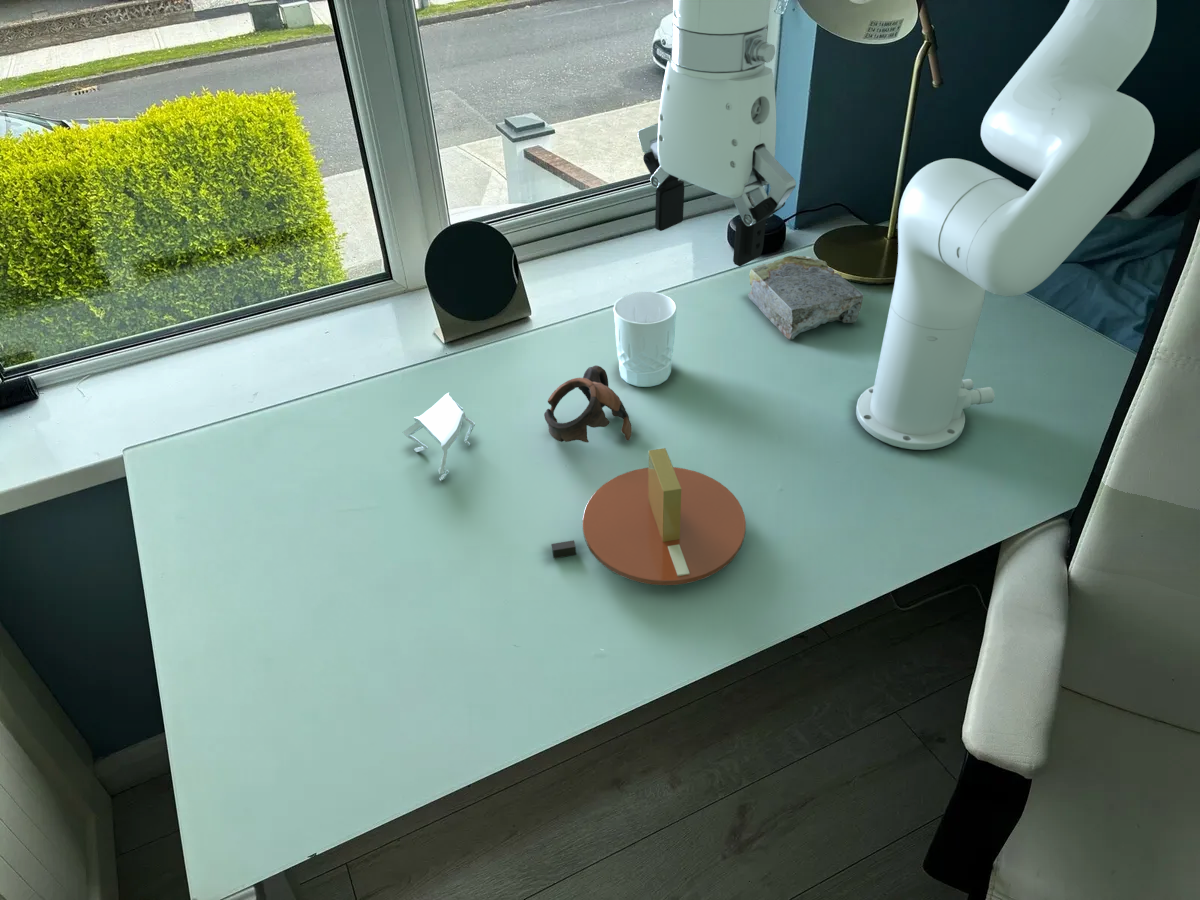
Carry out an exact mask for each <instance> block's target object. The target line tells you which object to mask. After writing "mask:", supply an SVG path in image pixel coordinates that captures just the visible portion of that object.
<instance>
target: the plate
mask: <svg viewBox="0 0 1200 900" xmlns="http://www.w3.org/2000/svg"><path fill="white" fill-rule="evenodd" d="M581 525H582V526H581V527H582V533H583V538H584V541H585V544H586V546H587V548H588V549H589V551H590V553H591V554H592V555H593V557H595V559H596V560H597V561H598V562H599V563H600V564H601V565H603V566H604V567H606V568H607V570H609V571H611V572H613V573H615V574H616V575H618V576H620V577H623V578H625V579H628V580H630V581H634V582H637V583H643V584H647V585H655V586H677V585H678V586H679V585H685V584H690V583H694V582H697V581H698V582H699V581H701V580H703V579H706V578H709V577H711V576H713V575H715V574H717V573H718V572H719V571H721V570H723V569H724V568H725V567H727V566H728V565H729V564H730V563H731V562H732V561H733V560H734V559H735V558H736V557H737V555H738V554H739V552H740V551H741V549H742V546H743V544H744V542H745V537H746V532H747V531H746V529H747V520H746V516H745V512H744V510H743V507H742V505H741V503H740V501H739V500H738V499H737V497H736V496H735V495H734V493H733V492H732V491H731V490H729V488H727V487H726V486H725V485H724V484H722V483H721V482H719V481H718V480H716V479H715V478H712V477H710V476H708V475H706V474H704V473H701V472H698V471H695V470H691V469H688V468H683V467H677V466H673V464H672V461H671V459H670V456H669V454H668V451H667V448H666V447H663V448H656V449H650V450H649V449H648V467H643V468H637V469H633V470H630V471H626V472H624V473H622V474H619V475H617V476H615V477H613V478H612V479H610V480H608V481H607V482H605V483H603V485H601V486H600V487H599V488H597V490H596V491H595V492H594V493H593V494H592V495H591V497H590V498H589V500H588V502H587V503H586V506H585V508H584V510H583V514H582V524H581Z"/></svg>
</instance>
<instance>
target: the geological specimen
mask: <svg viewBox="0 0 1200 900" xmlns="http://www.w3.org/2000/svg"><path fill="white" fill-rule="evenodd" d="M748 275H749V284H750V286H751V290H750V292H748V295H747V297H748V298H749V300H750V301H751V302H752V303H753V304H754V305H755V306H756V307H757V308H758V310H759V311H761V313H762V314H763V315H764V316H765V317H766V318H767V319H768V320H769V321H770V323H772V325H773V326H775V327H776V328H777V329H778V331H779V332H780V333H781V334H782V335H783V336H784V337H785V338H786V339H787V340H789V341H792V340H794V339H795V337H797V336H798V335H799V334H800V333H805V332H807V331H809V330H814V329H816V328H817V327H819V326H820V325H822V324H823V325H825V324H826V323H833V322H835V321H839V322H842V323H844V324H847V323H849V324H856V322H857V320H858V317H859V314H860V312H861V310H862V304H863V300H864V294H863V293H862V292H861V291H860V290H859V289H858V288H857V287H855V286H854V285H853V284H851V282H850V281H848V280H847V279H845V278H844V277H843V276H841V274H840V273H838V272H835V269H834V268H832V267H829V265H828V263H827V262H826V261H825V260H822V259H819V258H814V257H811V256H808V255H807V256H805V255H788V256H787V255H786V256H785V257H783V258H780V259H775V260H774V261H773V262H769V263H763V264H761V265H757V266H756V267H753V268H751V269H750V271H749V274H748Z"/></svg>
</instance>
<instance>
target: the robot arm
mask: <svg viewBox="0 0 1200 900" xmlns="http://www.w3.org/2000/svg"><path fill="white" fill-rule="evenodd" d="M672 1H673V3H672V27H671V30H672V31H671V57H670V58H668V59H667V63H666V66H665V67H666V68H665V72H664V75H663V76H664V77H663V82H662V88H661V95H660V102H659V111H658V122H657V123H655V124H654V123H653V124H652V125H650V126H649V125H648V126H647V127H644V128H641V129H638V131H637V138H638V141H639V144H640V148H641V151H642V153H644V154H643V162H644V165H645V167H646V168H647V170H648V172H649V174H650V179H649V181H650V185H651V187H653V188H654V189H655V213H654V214H655V216H654V227H655V230H657V231H659V232H662V231H665V230H667V229H670V228H671V227H674V226H676V225H678V224H681V223H682V222H683V221H684V210H685V209H684V208H685V207H684V206H685V182H686V183H689V184H692V185H694V186H696V187H699V188H702V189H704V190H707V191H710V192H713V193H715V194H718V195H720V196H723V197H726V198H730V199H732V202H733V204H734V206H735V209H736V210H737V212H738V214H739V217H740V219H741V221H738V222H737V223H736V225H735V232H734V245H733V258H732V263H733V264H734V265H736V266H738V267H743V266H744V265H747V264H748V263H750V262H752V261H754V260H756V259H758V258H759V257H761V255H762V253H763V250H764V244H765V243H764V242H765V233H766V225H767V219H768V218H770V217H772V216H773V215H774V214H775V213H777V212H778V211H779V210H781V209H782V208H783V207H784V206H785V205H786V201H787V200H788V199H789V198H790V196H791V194H792V193H793V192H794V190H795V188H796V186H797V181H796V180H795V177H793V175H791V174H790V173H789V172H788V170H787V169H786V168H785V167H784V166H783V165H782V164H781V163H780V162H779V160H777V159H776V146H777V145H776V144H777V104H776V103H777V100H776V88H775V79H774V72H773V69H772V68H771V67H768V66H766V65H765V63H767V64H768V63H771V62H772V61H773V59H774V57H775V56H776V46H775V45H774V44H773V43H769V42H768V31H769V17H770V8H771V0H672ZM1156 20H1157V0H1069V2H1068V3H1067V5H1066V6H1065V9H1064V10H1063V12H1062V14H1061V15H1060V17H1059V18H1058V20H1056V22H1055V24H1054V25H1053V26H1052V28H1051V29H1050V30H1049V32H1048V33H1047V34H1046V35H1045V37H1044V38H1043V39H1042V40H1041V42H1040V43H1039V44H1038V45H1037V47H1036V48H1035V49H1034V50H1033V51H1032V53H1031V54H1030V55H1029V56H1028V58H1027V59H1026V60H1025V61H1024V62H1023V64H1022V65H1021V66H1020V68H1019V69H1018V70H1017V72H1015V74H1014V75H1013V76H1012V78H1011V79H1010V80H1009V81H1008V83H1007V84H1006V85H1005V87H1004V88H1003V89H1002V90H1001V91H1000V93H999V94H998V95H997V97H996V98H995V99H994V101H993V102H992V103H991V105H990V106H989V108H988V110H987V112H986V113H985V115H984V116H983V120H982V122H981V125H980V138H981V139H980V140H981V141H982V144H983V146H984V147H985V149H986V150H987V151H988V153H990V155H992V156H994V157H995V158H996V159H997V160H999V161H1000V162H1002V163H1004V164H1005V165H1007V166H1009V167H1011V168H1012V169H1014V170H1016V171H1018V172H1020V173H1022V174H1024V175H1026V176H1028V177H1030V178H1032V179H1034V180H1035V182H1034V183H1033V185H1032V186H1031V187H1030V188H1029V190H1026V189H1025V188H1023V187H1021V186H1018V185H1016V184H1015V183H1014V182H1012V181H1011V180H1009V179H1007V178H1005V177H1003V176H1002V175H1000V174H998V173H997V172H994V171H992V170H990V169H988V168H986V167H985V166H982V165H980V164H978V163H976V162H973V161H970V160H966V159H962V158H954V157H953V158H952V157H951V158H950V157H949V158H942V159H938V160H935V161H933V162H930V163H928V164H926V165H925V166H923V167H922V168H921V169H919V170H918V171H917V172H916V173H915V174H914V175H913V176H912V178H911V179H910V180H909V182H908V184H907V185H906V187H905V189H904V191H903V193H902V196H901V199H900V203H899V208H898V214H897V215H898V218H897V243H898V244H897V253H898V254H897V264H896V271H895V278H894V284H893V289H892V294H891V300H890V304H889V309H888V313H887V319H886V324H885V329H884V334H883V339H882V344H881V348H880V353H879V358H878V364H877V368H876V374H875V378H874V379H875V380H874V383H873V385H872V386H870V387H869V388H866V389H865V390H864V391H863V392H862V393H861V394H860V396H859V397H858V399H857V403H856V408H855V415H856V419H857V421H858V423H859V424H860V426H861V427H862V428H863V429H864V430H865V431H866V432H867V433H868V434H869V435H870V436H872V437H874V438H875V439H877V440H879V441H881V442H883V443H886V444H887V445H890V446H893V447H898V448H900V449H907V450H912V451H913V450H915V451H926V450H936V449H939V448H943V447H946V446H948V445H950V444H952V443H954V442H955V441H956V440H958V438H959V437H960V436H961V435H962V433H963V431H964V428H965V423H966V414H965V412H964V410H967V409H969V408H970V407H971V406H972V405H985V404H991V403H993V402H994V401H995V398H996V397H995V396H996V395H995V391H994V389H993V388H992V387H991V386H986V387H978V388H975V389H974V381H973V379H971V378H965V379H964V376H965V371H966V368H967V365H968V361H969V357H970V354H971V350H972V346H973V342H974V339H975V336H976V331H977V328H978V325H979V321H980V317H981V314H982V312H983V308H984V303H985V298H986V291H987V292H989V293H990V294H993V295H995V296H999V297H1003V298H1011V297H1018V296H1021V295H1024V294H1026V293H1028V292H1030V291H1032V290H1034V289H1035V288H1037V287H1038V286H1039V285H1041V284H1042V283H1043V282H1044V281H1046V280H1047V279H1048V278H1049V277H1050V276H1051V275H1052V274H1054V272H1055V271H1056V270H1057V269H1058V268H1059V267H1060V266H1061V265H1062V263H1064V262H1065V260H1066V259H1067V258H1068V257H1069V256H1070V255H1071V254H1072V253H1073V252H1074V251H1075V249H1076V248H1077V247H1078V246H1079V245H1080V244H1081V243H1082V241H1084V240H1085V238H1086V237H1087V236H1088V234H1090V233H1091V231H1092V230H1093V229H1094V228H1095V227H1096V226H1097V225H1098V224H1099V222H1101V221H1102V220H1103V218H1104V217H1105V216H1106V215H1107V214H1108V212H1109V211H1110V210H1111V209H1112V208H1113V207H1114V206H1115V205H1116V204H1117V203H1118V201H1120V199H1121V198H1122V197H1123V196H1124V195H1125V193H1126V192H1127V191H1128V190H1129V189H1130V187H1131V186H1132V185H1133V184H1134V182H1135V181H1136V179H1137V178H1138V177H1139V175H1140V173H1141V172H1142V170H1143V168H1144V166H1145V165H1146V163H1147V161H1148V158H1149V156H1150V153H1151V152H1152V148H1153V144H1154V139H1155V123H1154V119H1153V116H1152V114H1151V112H1150V111H1149V109H1148V108H1147V107H1146V106H1145V105H1144V104H1143V103H1141V102H1140V101H1139V100H1137V99H1136V98H1134V97H1132V96H1130V95H1127V94H1126V93H1123V92H1120V91H1118V89H1119V88H1120V86H1122V84H1123V83H1124V81H1125V80H1126V79H1127V77H1129V75H1130V74H1131V73H1132V71H1133V70H1134V68H1136V66H1137V65H1138V64H1139V63H1140V61H1141V59H1142V58H1143V57H1144V56H1145V54H1146V52H1147V51H1148V49H1149V47H1150V44H1151V42H1152V40H1153V36H1154V33H1155V32H1154V31H1155V27H1156ZM767 185H769V187H770V188H769V189H770V190H769V192H768V194H767V192H766V190H765V187H764V186H767ZM748 194H750V196H751V198H752V201H753V202H754V205H755V206H754V207H753V205H752V203H751V202H750V199H749V197H748Z"/></svg>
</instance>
